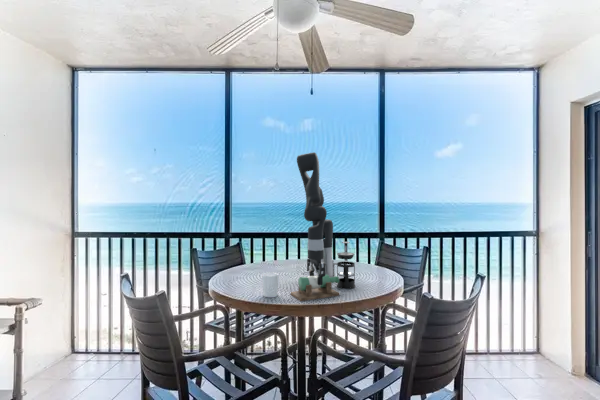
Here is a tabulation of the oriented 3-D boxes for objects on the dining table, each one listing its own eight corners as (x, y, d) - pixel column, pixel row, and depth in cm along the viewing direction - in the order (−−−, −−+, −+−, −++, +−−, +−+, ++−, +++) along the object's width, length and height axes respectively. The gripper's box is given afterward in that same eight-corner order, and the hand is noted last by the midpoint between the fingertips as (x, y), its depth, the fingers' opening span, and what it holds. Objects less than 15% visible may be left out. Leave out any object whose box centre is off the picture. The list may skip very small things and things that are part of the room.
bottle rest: (327, 289, 164) (327, 277, 164) (339, 295, 154) (339, 282, 154) (290, 294, 156) (290, 281, 156) (300, 301, 146) (300, 287, 146)
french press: (355, 284, 174) (355, 240, 174) (357, 288, 165) (357, 243, 165) (333, 283, 175) (332, 240, 175) (334, 288, 166) (333, 243, 166)
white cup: (262, 293, 158) (262, 272, 158) (278, 292, 159) (278, 272, 159) (261, 298, 150) (261, 276, 150) (279, 297, 151) (278, 275, 151)
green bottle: (333, 282, 163) (334, 271, 162) (339, 288, 158) (341, 276, 157) (297, 287, 155) (298, 274, 154) (303, 293, 150) (304, 280, 149)
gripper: (330, 250, 150) (330, 285, 150) (315, 246, 163) (316, 278, 163) (315, 251, 147) (315, 287, 147) (302, 247, 160) (302, 280, 160)
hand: (315, 283), depth 155 cm, fingers open, 8 cm apart
